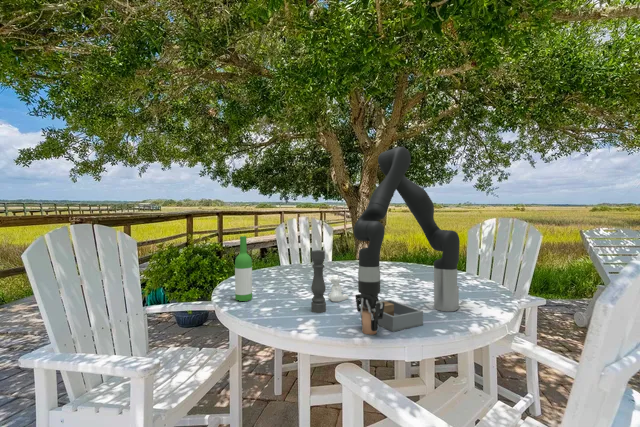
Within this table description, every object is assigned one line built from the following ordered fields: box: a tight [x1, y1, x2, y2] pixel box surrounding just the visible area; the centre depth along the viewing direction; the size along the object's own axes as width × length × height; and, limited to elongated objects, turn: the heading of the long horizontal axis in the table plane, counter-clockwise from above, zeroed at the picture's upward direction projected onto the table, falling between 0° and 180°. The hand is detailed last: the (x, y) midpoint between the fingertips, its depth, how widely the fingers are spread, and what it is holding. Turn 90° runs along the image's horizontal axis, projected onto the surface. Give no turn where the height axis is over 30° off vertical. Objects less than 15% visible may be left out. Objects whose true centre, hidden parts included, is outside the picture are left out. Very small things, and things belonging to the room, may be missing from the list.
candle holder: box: [310, 249, 327, 314], centre depth 139 cm, size 6×6×25 cm
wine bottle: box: [234, 235, 253, 302], centre depth 156 cm, size 8×8×30 cm
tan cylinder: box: [361, 310, 378, 336], centre depth 114 cm, size 5×5×7 cm
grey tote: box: [372, 299, 424, 333], centre depth 125 cm, size 14×18×5 cm
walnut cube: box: [383, 300, 394, 316], centre depth 129 cm, size 5×5×5 cm
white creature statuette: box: [328, 274, 349, 303], centre depth 155 cm, size 10×9×12 cm
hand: (369, 327), depth 114 cm, fingers closed on tan cylinder, 5 cm apart
